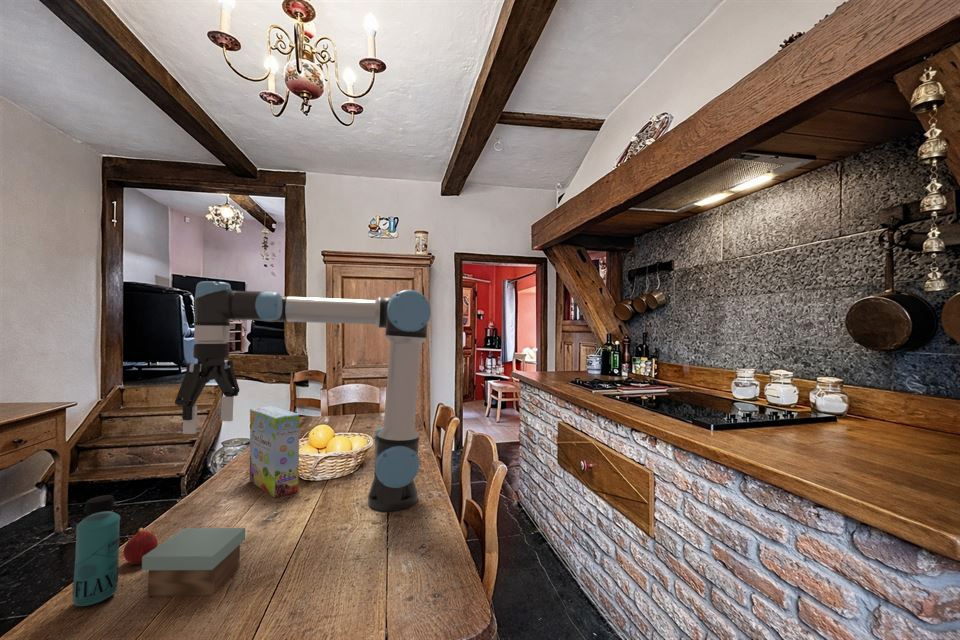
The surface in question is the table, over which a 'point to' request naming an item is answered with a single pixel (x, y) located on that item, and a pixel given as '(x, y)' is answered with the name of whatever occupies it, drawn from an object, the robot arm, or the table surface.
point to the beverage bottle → (96, 553)
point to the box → (192, 578)
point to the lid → (194, 549)
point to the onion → (139, 546)
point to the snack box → (274, 450)
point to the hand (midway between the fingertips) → (209, 427)
